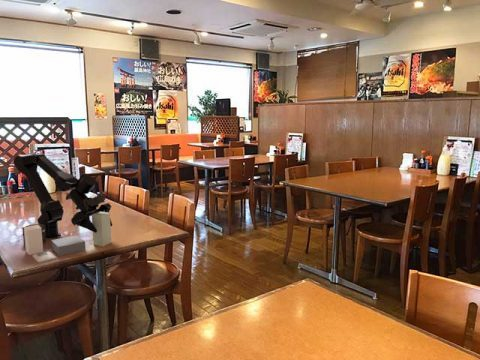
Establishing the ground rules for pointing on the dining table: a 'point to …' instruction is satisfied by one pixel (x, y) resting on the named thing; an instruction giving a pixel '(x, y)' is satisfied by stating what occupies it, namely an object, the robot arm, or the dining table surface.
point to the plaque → (43, 257)
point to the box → (41, 229)
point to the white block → (33, 239)
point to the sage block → (101, 228)
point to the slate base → (68, 245)
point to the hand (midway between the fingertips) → (104, 228)
